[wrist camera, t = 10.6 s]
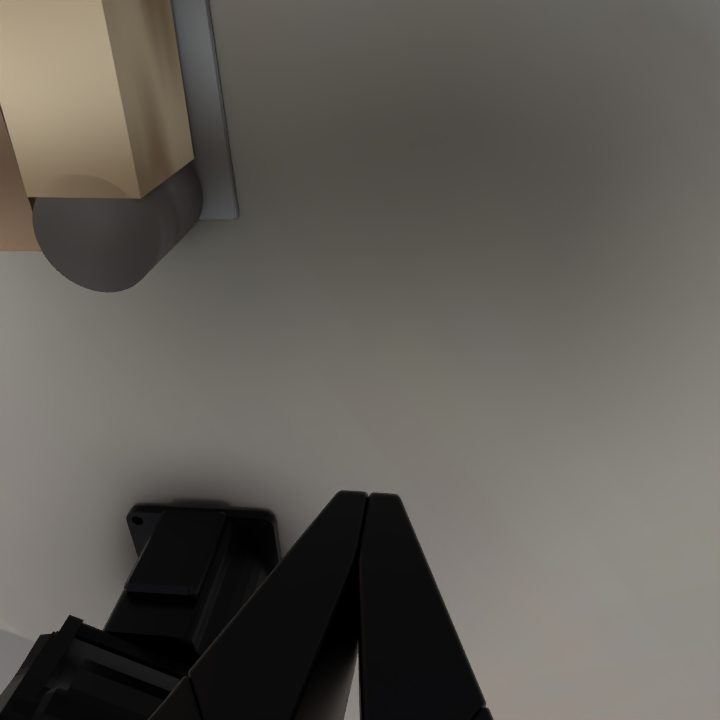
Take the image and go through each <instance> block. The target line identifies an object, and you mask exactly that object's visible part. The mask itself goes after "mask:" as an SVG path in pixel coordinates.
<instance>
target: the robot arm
mask: <svg viewBox="0 0 720 720" xmlns="http://www.w3.org/2000/svg"><path fill="white" fill-rule="evenodd" d="M139 517H140V518H139ZM126 519H127V523H128V526H129V530H130V533H131V536H132V539H133V542H134V545H135V549H136V552H137V555H138V560H137V562H136V564H135V566H134V568H133V570H132V571H131V573H130V575H129V577H128V579H127V581H126V583H125V586H124V590H123V592H122V594H121V596H120V598H119V600H118V602H117V604H116V606H115V608H114V609H113V611H112V613H111V615H110V617H109V619H108V621H107V623H106V625H105V627H104V629H103V631H102V630H100V629H97V628H95V627H92V626H90V625H87V624H84V623H83V621H84V620H82V619H79V618H77V617H74V616H72V615H69V617H68V618H67V620H66V621H65V623H64V624H63V626H62V628H61V629H60V631H59V632H58V631H57V632H54V631H53V632H52V634H44V635H40V636H39V638H38V639H37V641H36V643H35V644H34V646H33V648H32V649H31V651H30V652H29V654H28V656H27V657H26V659H25V661H24V662H23V664H22V666H21V667H20V669H19V670H18V672H17V673H16V675H15V677H14V678H13V679H12V681H11V682H10V683H9V685H8V686H7V687H6V689H5V690H4V691H3V693H2V694H1V695H0V720H344V715H345V711H346V706H347V702H348V697H349V693H350V688H351V684H352V679H353V675H354V670H355V665H356V659H357V654H358V655H359V706H360V720H493V717H492V715H491V712H490V710H489V709H488V708H486V701H485V699H484V697H483V694H482V692H481V689H480V687H479V685H478V682H477V680H476V677H475V675H474V673H473V670H472V668H471V665H470V663H469V661H468V658H467V656H466V654H465V651H464V649H463V646H462V644H461V642H460V639H459V637H458V634H457V632H456V630H455V627H454V625H453V622H452V620H451V618H450V615H449V613H448V610H447V608H446V606H445V603H444V601H443V599H442V596H441V594H440V591H439V589H438V587H437V584H436V582H435V579H434V577H433V575H432V572H431V570H430V567H429V565H428V563H427V560H426V558H425V555H424V553H423V551H422V548H421V546H420V543H419V541H418V539H417V536H416V534H415V532H414V529H413V527H412V524H411V522H410V520H409V517H408V515H407V512H406V510H405V508H404V505H403V503H402V500H401V498H400V497H399V496H398V495H397V494H389V493H375V492H374V493H371V494H370V495H369V496H368V494H367V493H366V492H361V491H347V490H341V491H339V492H338V493H337V494H336V495H335V496H334V497H333V498H332V499H331V501H330V502H329V503H328V504H327V505H326V507H325V508H324V509H323V510H322V511H321V513H320V514H319V515H318V516H317V518H316V519H315V520H314V521H313V522H312V524H311V525H310V526H309V527H308V528H307V530H306V531H305V532H304V533H303V534H302V536H301V537H300V538H299V539H298V540H297V542H296V543H295V544H294V545H293V546H292V548H291V549H290V550H289V551H288V552H287V554H286V555H285V556H284V557H283V558H282V559H281V552H280V545H279V539H278V532H277V526H276V520H275V518H274V517H273V516H272V515H271V514H269V513H267V512H259V511H238V510H218V509H198V508H178V507H157V506H134V507H132V508H131V510H130V512H129V513H128V515H127V517H126ZM261 523H264V524H266V525H264V524H261Z"/></svg>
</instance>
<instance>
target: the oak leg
mask: <svg viewBox="0 0 720 720" xmlns="http://www.w3.org/2000/svg"><path fill="white" fill-rule="evenodd" d="M0 104H1V108H2V111H3V115H4V118H5V122H6V125H7V128H8V132H9V135H10V139H11V142H12V146H13V149H14V152H15V156H16V159H17V163H18V166H19V170H20V173H21V177H22V180H23V183H24V187H25V190H26V194H27V197H37V198H36V200H35V203H34V207H33V214H32V221H33V229H34V233H35V237H36V239H37V242H38V244H39V246H40V248H41V250H42V252H43V253H44V255H45V257H46V258H47V259H48V261H49V262H50V263H51V264H52V265H53V266H54V267H55V269H56V270H58V271H59V272H60V273H61V274H62V275H63V276H65V277H66V278H68V279H69V280H70V281H72V282H74V283H76V284H78V285H80V286H82V287H84V288H87V289H90V290H94V291H99V292H117V291H122V290H125V289H128V288H130V287H132V286H134V285H135V284H137V283H138V282H139V281H140V280H141V279H142V278H143V277H144V276H145V275H146V274H147V273H148V272H149V271H150V270H151V269H152V268H153V267H154V266H155V265H156V264H157V263H158V262H159V261H160V260H161V259H162V258H163V257H164V256H165V255H166V254H167V253H168V252H169V251H170V250H171V249H172V248H173V247H174V246H175V245H176V244H177V243H178V242H179V241H180V240H181V239H182V238H183V237H184V236H185V234H186V233H187V232H188V231H189V230H190V229H191V228H192V227H193V226H194V225H195V224H196V222H197V220H198V218H199V216H200V213H201V210H202V205H203V195H202V188H201V184H200V181H199V178H198V176H197V174H196V172H195V170H194V169H193V167H192V165H191V164H190V163H189V162H190V161H192V160H193V159H194V154H193V148H192V141H191V134H190V128H189V121H188V114H187V108H186V101H185V95H184V88H183V81H182V75H181V68H180V61H179V55H178V48H177V41H176V35H175V28H174V22H173V15H172V8H171V2H170V0H0Z"/></svg>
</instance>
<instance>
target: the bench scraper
mask: <svg viewBox="0 0 720 720" xmlns="http://www.w3.org/2000/svg"><path fill="white" fill-rule="evenodd" d="M170 2H171V8H172V15H173V22H174V28H175V35H176V41H177V48H178V55H179V61H180V68H181V75H182V81H183V88H184V95H185V101H186V108H187V114H188V121H189V128H190V134H191V141H192V148H193V154H194V159H193V160H192V161H190V162H189V163H190V164H191V165H192V167H193V169H194V170H195V172H196V174H197V176H198V178H199V181H200V184H201V188H202V195H203V205H202V210H201V213H200V216H199V218H198V220H237V219H238V217H239V211H238V204H237V197H236V190H235V183H234V176H233V169H232V162H231V155H230V148H229V141H228V134H227V128H226V121H225V114H224V107H223V100H222V93H221V86H220V79H219V72H218V65H217V58H216V51H215V44H214V37H213V30H212V23H211V16H210V9H209V2H208V0H170ZM36 198H37V197H27V194H26V190H25V187H24V183H23V180H22V177H21V173H20V170H19V166H18V163H17V159H16V156H15V152H14V149H13V146H12V142H11V139H10V135H9V132H8V128H7V125H6V122H5V118H4V115H3V111H2V108H1V104H0V251H42V250H41V248H40V246H39V244H38V242H37V239H36V237H35V233H34V229H33V221H32V214H33V207H34V203H35V200H36Z"/></svg>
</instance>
